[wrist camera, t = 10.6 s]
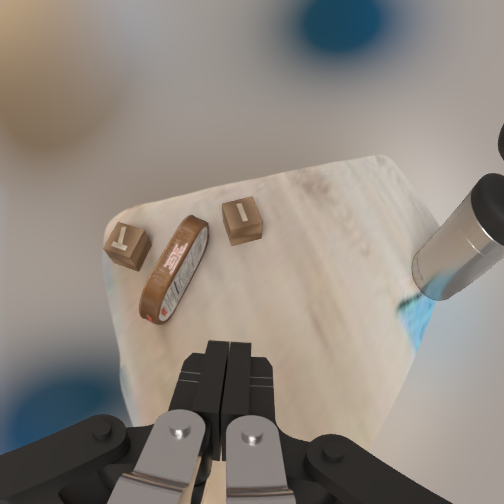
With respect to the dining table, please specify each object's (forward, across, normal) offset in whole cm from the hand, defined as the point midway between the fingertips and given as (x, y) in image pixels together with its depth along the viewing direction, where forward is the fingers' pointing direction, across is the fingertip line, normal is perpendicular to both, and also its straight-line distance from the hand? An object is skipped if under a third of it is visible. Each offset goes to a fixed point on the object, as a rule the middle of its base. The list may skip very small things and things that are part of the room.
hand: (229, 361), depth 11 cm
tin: (+31, +9, +11) cm, 34 cm away
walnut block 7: (+34, +17, +8) cm, 39 cm away
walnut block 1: (+38, +1, +4) cm, 38 cm away
